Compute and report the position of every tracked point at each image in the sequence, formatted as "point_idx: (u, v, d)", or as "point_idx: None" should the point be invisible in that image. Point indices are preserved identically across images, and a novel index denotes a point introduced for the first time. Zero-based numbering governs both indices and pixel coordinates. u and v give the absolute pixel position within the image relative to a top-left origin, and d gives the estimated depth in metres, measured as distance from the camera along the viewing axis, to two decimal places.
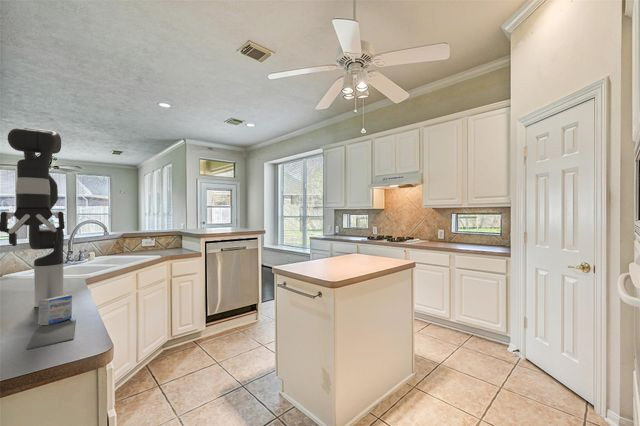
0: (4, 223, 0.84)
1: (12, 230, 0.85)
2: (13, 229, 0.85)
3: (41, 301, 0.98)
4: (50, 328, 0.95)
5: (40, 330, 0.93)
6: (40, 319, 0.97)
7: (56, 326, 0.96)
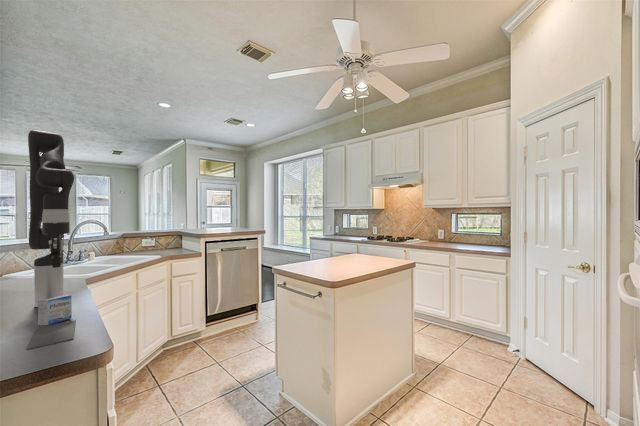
0: (59, 250, 1.05)
1: (60, 254, 1.07)
2: (60, 253, 1.07)
3: (40, 301, 0.98)
4: (50, 328, 0.95)
5: (40, 330, 0.93)
6: (40, 319, 0.97)
7: (56, 326, 0.96)
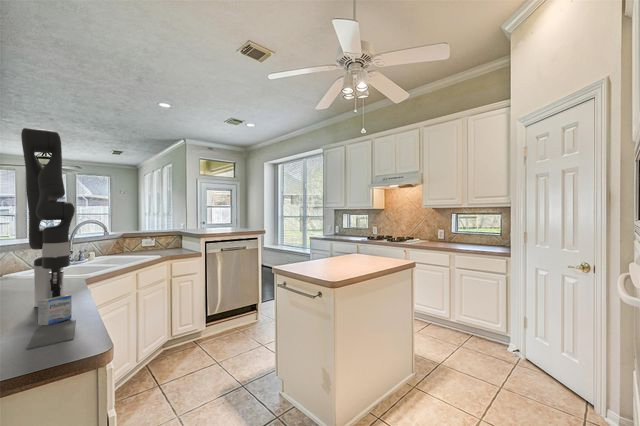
0: (59, 284, 1.03)
1: (60, 287, 1.06)
2: (60, 287, 1.06)
3: (40, 301, 0.98)
4: (50, 328, 0.95)
5: (40, 330, 0.93)
6: (40, 319, 0.97)
7: (56, 326, 0.96)
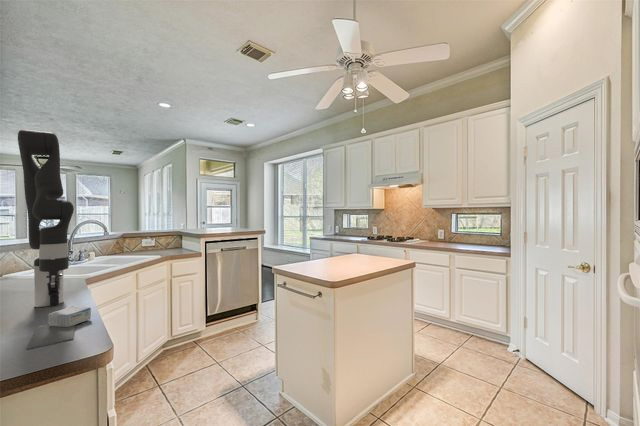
0: (58, 288, 0.97)
1: (59, 292, 0.99)
2: (59, 291, 0.99)
3: (67, 318, 0.95)
4: (50, 328, 0.95)
5: (40, 330, 0.93)
6: (52, 317, 0.96)
7: (56, 326, 0.96)
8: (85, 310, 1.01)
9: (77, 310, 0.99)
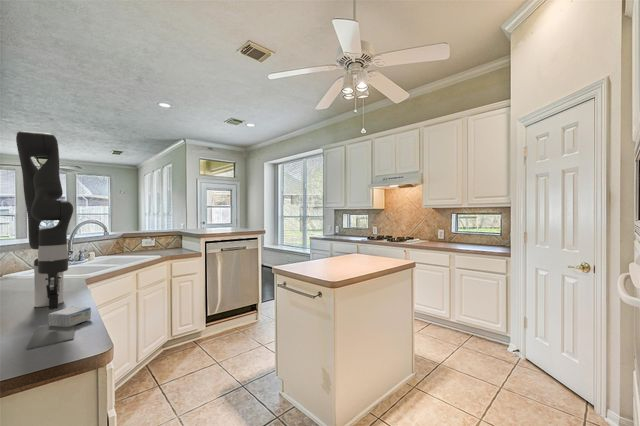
0: (57, 290, 0.94)
1: (58, 294, 0.97)
2: (58, 293, 0.97)
3: (67, 318, 0.95)
4: (50, 328, 0.95)
5: (40, 330, 0.93)
6: (52, 317, 0.96)
7: (56, 326, 0.96)
8: (85, 310, 1.01)
9: (77, 310, 0.99)
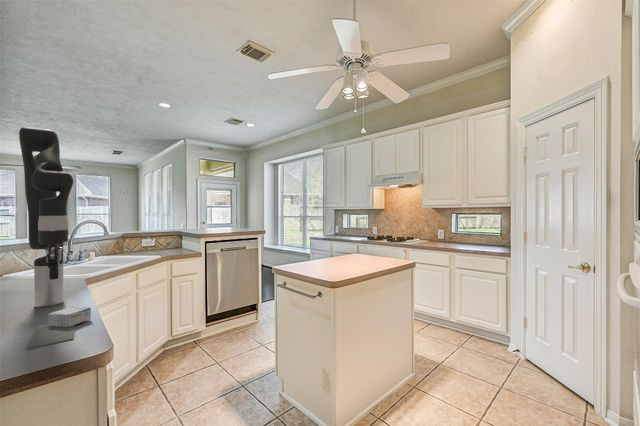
0: (57, 260, 0.95)
1: (58, 265, 0.98)
2: (58, 264, 0.98)
3: (67, 318, 0.95)
4: (50, 328, 0.95)
5: (40, 330, 0.93)
6: (52, 317, 0.96)
7: (56, 326, 0.96)
8: (85, 310, 1.01)
9: (77, 310, 0.99)
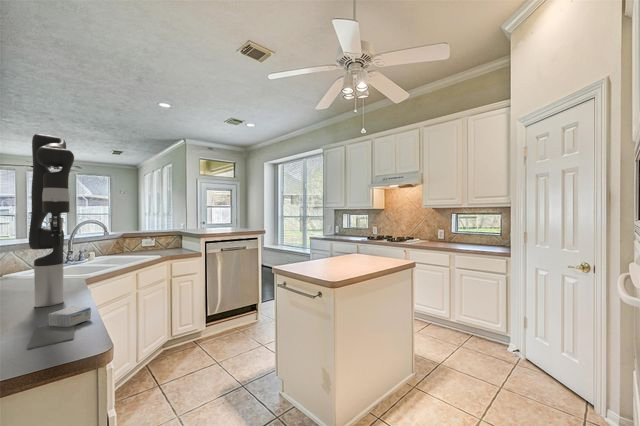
0: (60, 228, 1.05)
1: (60, 233, 1.08)
2: (60, 232, 1.08)
3: (67, 318, 0.95)
4: (50, 328, 0.95)
5: (40, 330, 0.93)
6: (52, 317, 0.96)
7: (56, 326, 0.96)
8: (85, 310, 1.01)
9: (77, 310, 0.99)
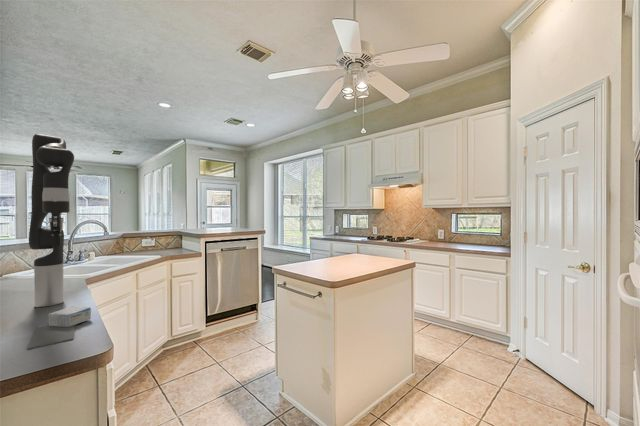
0: (59, 228, 1.05)
1: (60, 233, 1.08)
2: (60, 232, 1.08)
3: (67, 318, 0.95)
4: (50, 328, 0.95)
5: (40, 330, 0.93)
6: (52, 317, 0.96)
7: (56, 326, 0.96)
8: (85, 310, 1.01)
9: (77, 310, 0.99)
